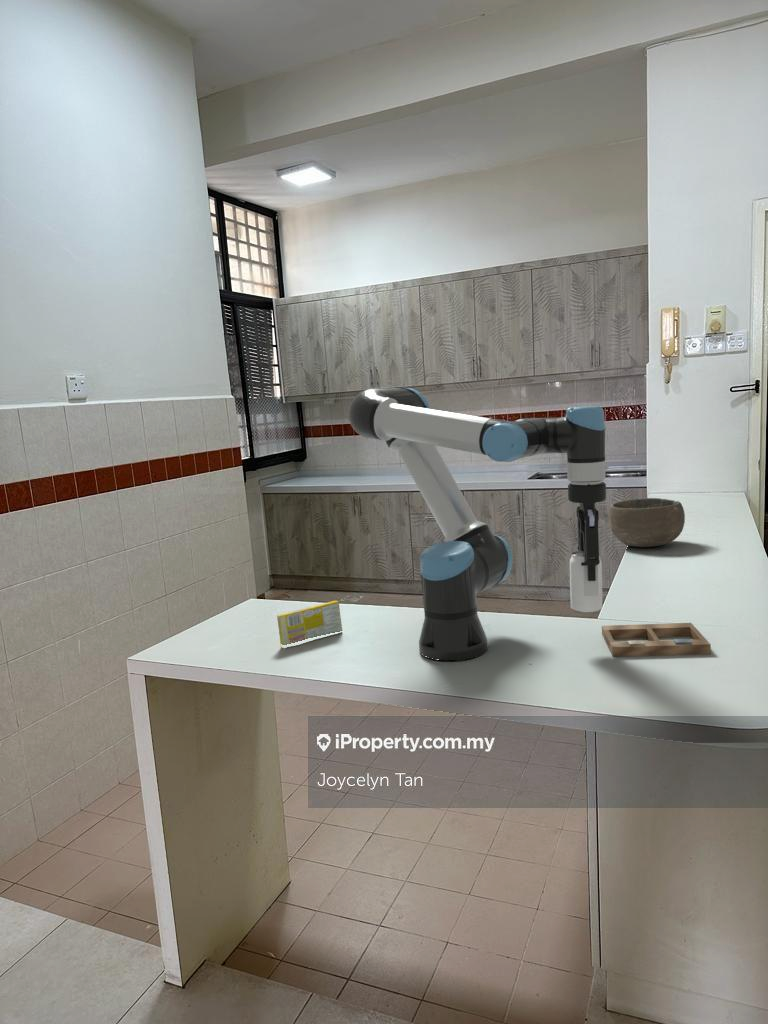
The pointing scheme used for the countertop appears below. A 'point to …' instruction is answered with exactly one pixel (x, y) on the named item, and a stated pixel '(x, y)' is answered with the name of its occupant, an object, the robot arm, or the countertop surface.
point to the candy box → (309, 622)
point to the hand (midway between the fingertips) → (588, 590)
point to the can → (577, 586)
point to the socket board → (655, 640)
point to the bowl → (646, 521)
